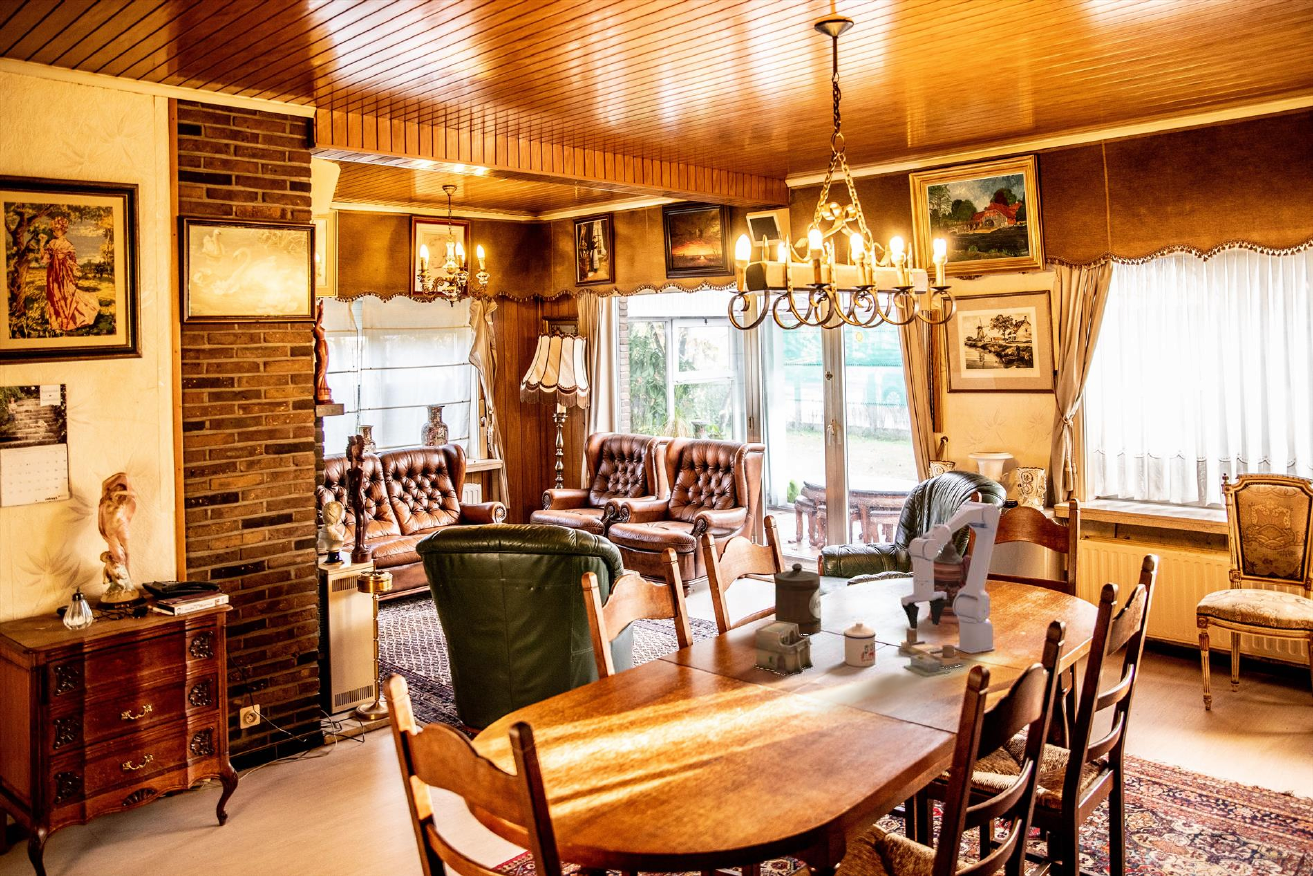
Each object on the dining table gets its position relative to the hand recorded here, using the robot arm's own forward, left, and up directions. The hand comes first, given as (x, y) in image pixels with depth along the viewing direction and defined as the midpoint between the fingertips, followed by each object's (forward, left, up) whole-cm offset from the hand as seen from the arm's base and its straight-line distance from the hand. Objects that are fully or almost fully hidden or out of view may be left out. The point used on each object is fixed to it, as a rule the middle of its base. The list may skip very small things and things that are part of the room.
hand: (924, 626), depth 284 cm
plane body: (-3, -2, -10) cm, 11 cm away
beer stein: (-36, -34, -11) cm, 51 cm away
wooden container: (+15, -47, -11) cm, 51 cm away
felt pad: (+5, +7, -10) cm, 13 cm away
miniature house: (+39, -15, -11) cm, 43 cm away
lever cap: (+5, +6, -10) cm, 12 cm away
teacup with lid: (+16, -8, -11) cm, 21 cm away
